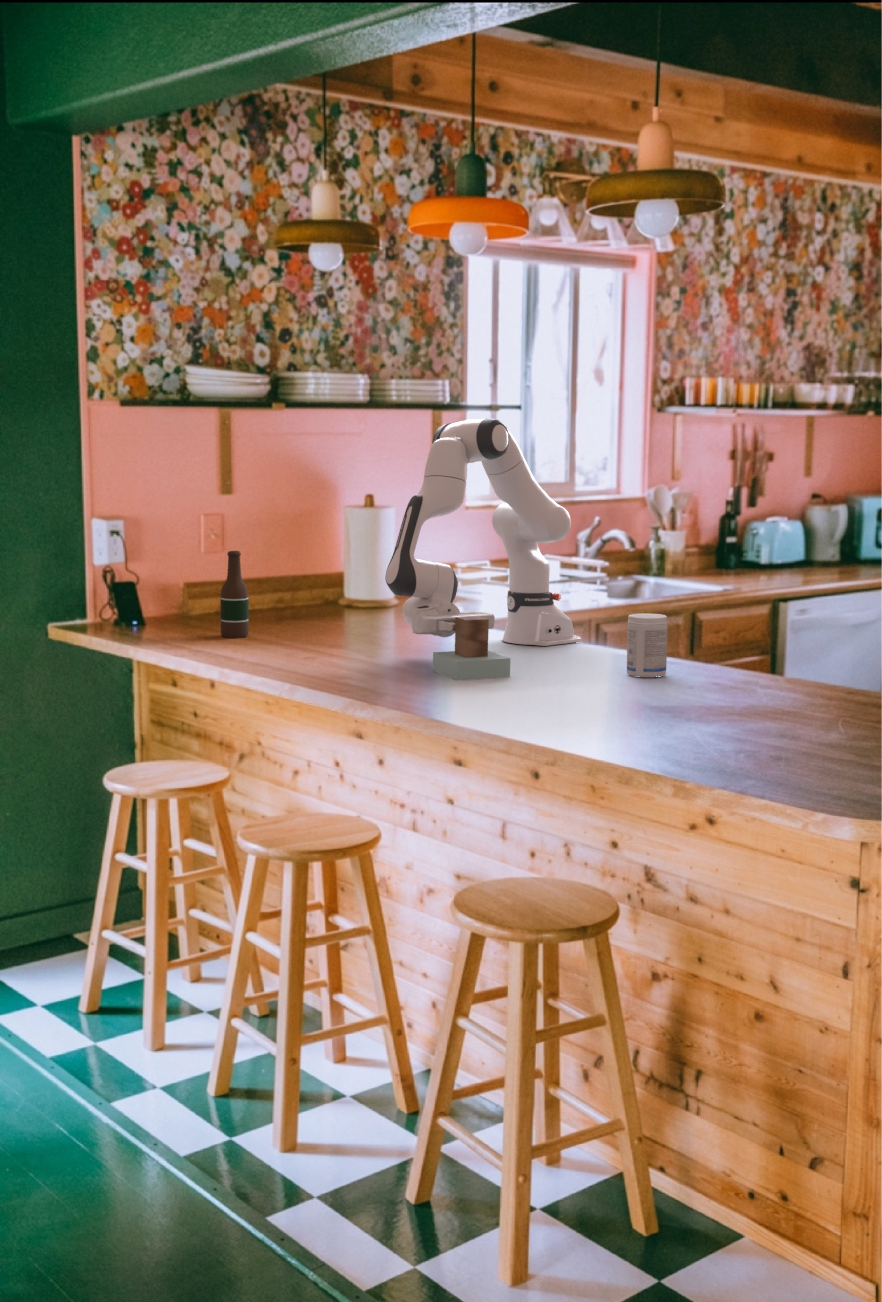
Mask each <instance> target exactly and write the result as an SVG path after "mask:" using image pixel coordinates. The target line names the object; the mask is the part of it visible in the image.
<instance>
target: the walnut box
mask: <svg viewBox="0 0 882 1302" xmlns="http://www.w3.org/2000/svg"><path fill="white" fill-rule="evenodd" d="M455 624H456V627H455V628H456V630H455V633H454V651H455V654H457V655H459V656H462V657H465V658H468V657H488V651H489V630H490V629H489V619H486V618H483V617H479V616H467V617H456V621H455Z"/></svg>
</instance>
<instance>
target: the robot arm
mask: <svg viewBox="0 0 882 1302" xmlns="http://www.w3.org/2000/svg"><path fill="white" fill-rule="evenodd" d="M431 442H432V444H431V446H430V448H429V452H428V455H427V459H426V463H425V468H424V473H423V481H422V486H421V488H420V489H419V492H418V493H417V494H415V495H413V496H412V497H411V498H410V499H409V502H408V504H407V506H406V508H405V512H404V514H403V517H402V522H401V525H400V528H399V532H398V536H397V539H396V543H395V545H394V550H393V554H392V555H391V557H390V561H389V563H388V565H387V569H386V572H385V583H386V585H387V587H388V589H389V590H390V591H391V592H392V594H393V595H395V596H397V597H409V598H408V599H406V600H405V602H404V603H403V605H402V616H403V618H404V620H405V622H406V623H407V624H408V625H409V626H410V627H411V629H412V633H413V634H415V635H432V636H435V637H440V638H449V637H452V636H454V635H455V630H456V628H455V627H456V624H455V621H456V617H467V616H479V617H483V618H486V619H489V630H492V629H494V628H495V623H496V622H495V621H496V620H495V615H494V614H493V613H490V612H485V611H484V612H483V611H465V612H464V611H463V612H462V611H460V608H459V607H458V606H457V605H456V604H454V601H455V598H456V595H457V592H458V587H459V582H458V578H457V574H456V572H455V570H454V568H453V567H452V566H451V565H450V564H447V563H443V562H442V563H441V562H437V561H430V560H425V559H420V558H416V556H415V552H416V551H415V550H416V548H417V544H418V541H419V537H420V533H421V529H422V527H423V525H424V524H425V522H426V521H428V520H430V519H433V518H434V519H435V518H438V517H443V516H446V515H449V514H452V513H454V512H455V511H457V510H458V509H459V508H460V507H461V505H462V504H463V503H464V500H465V497H466V491H467V479H468V464H473V463H476V462H481V463H482V467H483V468H484V469H483V470H484V472H485V474H486V476H487V478H488V479H489V483H490V484H491V487H492V489H493V490H494V493H495V494H496V496H497V498H498V499H500V500H501V501H502V502H503V503H500V504H499V505H498V506H497V507H496V508H495V509H494V511H493V513H492V520H491V522H492V528H493V530H494V532H495V533H496V534H497V535H498V536H499V539H500V540H501V541H502V543H503V546H504V548H505V551H506V554H507V558H508V566H509V588H508V591H507V603H506V604H507V618H506V623H505V624H506V625H505V629H504V633H503V636H502V639H501V640H502V642H505V643H508V644H509V643H510V644H516V645H529V646H531V645H533V646H542V647H545V646H546V647H547V646H555V645H556V646H557V645H562V644H573V643H580V642H582V637H580V635H579V636H578V635H575V634H574V626H573V622H572V619H571V618H570V617H569V616H568V615H567V614H565V613H564V612H563V611H562V610H561V609H560V608H558V607H557V606H556V605H555V602H554V601H557V602H558V601H560V600H561V599H562V595H561V593H557V592H555V593H552V592H551V591H550V563H549V561H548V560H547V559H546V558H545V557H544V555H542V553H541V551H540V548H539V545H538V543H539V544H540V543H542V544H551V543H557V542H562V541H563V540H564V539H566V537H567V536H568V535H569V532H570V531H571V525H572V521H571V516H570V513H569V511H568V510H567V509H566V508H565V507H563V506H561V505H560V504H559V503H557V502H555V500H553V499H552V498H551V497H550V496H549V495H548V493H547V492H546V491H545V490H544V489H543V488H542V487H541V486H540V484H539V483H538V482H537V480H536V479H535V477H534V476H533V474H532V471H531V469H530V467H529V465H528V463H527V461H526V459H525V457H524V453H522V450H521V448H520V446H519V444H518V443H517V441H516V439H515V438H514V436H513V435H512V433H511V432H510V431H509V429H508V428H507V426H506V425H505V423H504V422H503V421H501V420H500V419H495V418H490V417H488V418H486V417H485V418H476V419H475V418H473V419H466V420H461V421H458V422H454V423H447V424H442V425H441V426H439V427H438V428H437V429H436V430H435V432H434V434H433V437H432V441H431Z"/></svg>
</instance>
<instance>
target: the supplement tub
mask: <svg viewBox="0 0 882 1302" xmlns="http://www.w3.org/2000/svg"><path fill="white" fill-rule="evenodd" d="M626 633H627V635H626V637H627V638H626V639H627V641H626V642H627V643H626V674H627V675H628V674H629V675H628V676H630V675H631V676H630V677H633V676H640V677H656V676H657V677H658V676H663V677H664V676H666V675H667V661H668V655H667V654H668V616H667V615H665V614H661V613H646V612H645V613H644V612H643V613H632V614H629V615H628V620H627V632H626Z"/></svg>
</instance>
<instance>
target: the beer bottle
mask: <svg viewBox="0 0 882 1302" xmlns="http://www.w3.org/2000/svg"><path fill="white" fill-rule="evenodd" d="M226 554H227V556H228V560H227V572H226V573H227V576H226V579H225V582H224V583H223V584H222V588H221V589H220V601H219V602H220V604H219V605H220V635H221V637H222V638H226V639H242V638H243V639H245V638H247V637H248V636H249V631H250V630H249V629H250V627H249V625H250V624H249V620H250V619H249V613H250V611H249V609H250V608H249V606H250V605H249V603H250V602H249V590H248V588H247V585H246V584H245V582H244V580H243V577H242V568H241V556H242V554H241V551H240V550H229V551H227V553H226Z"/></svg>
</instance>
